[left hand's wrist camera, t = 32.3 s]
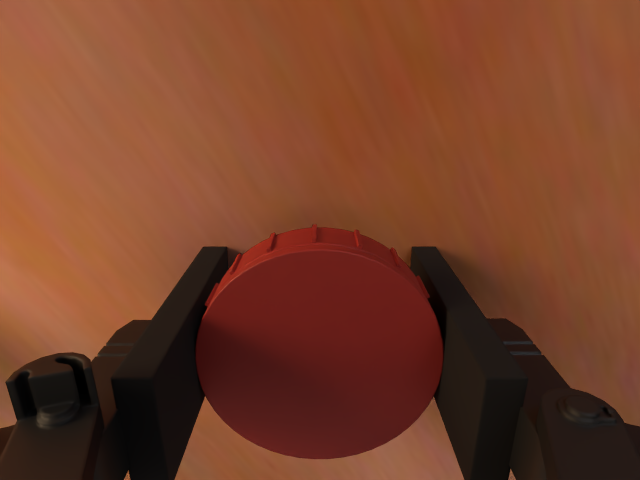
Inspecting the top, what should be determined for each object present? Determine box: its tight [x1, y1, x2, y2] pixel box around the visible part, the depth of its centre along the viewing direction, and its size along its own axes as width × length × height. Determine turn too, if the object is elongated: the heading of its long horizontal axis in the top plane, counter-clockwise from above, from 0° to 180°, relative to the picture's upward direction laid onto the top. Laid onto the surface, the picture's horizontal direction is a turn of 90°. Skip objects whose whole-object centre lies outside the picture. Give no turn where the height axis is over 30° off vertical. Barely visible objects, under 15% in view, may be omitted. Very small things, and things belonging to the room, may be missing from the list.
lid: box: [195, 225, 444, 459], centre depth 11 cm, size 6×6×2 cm
